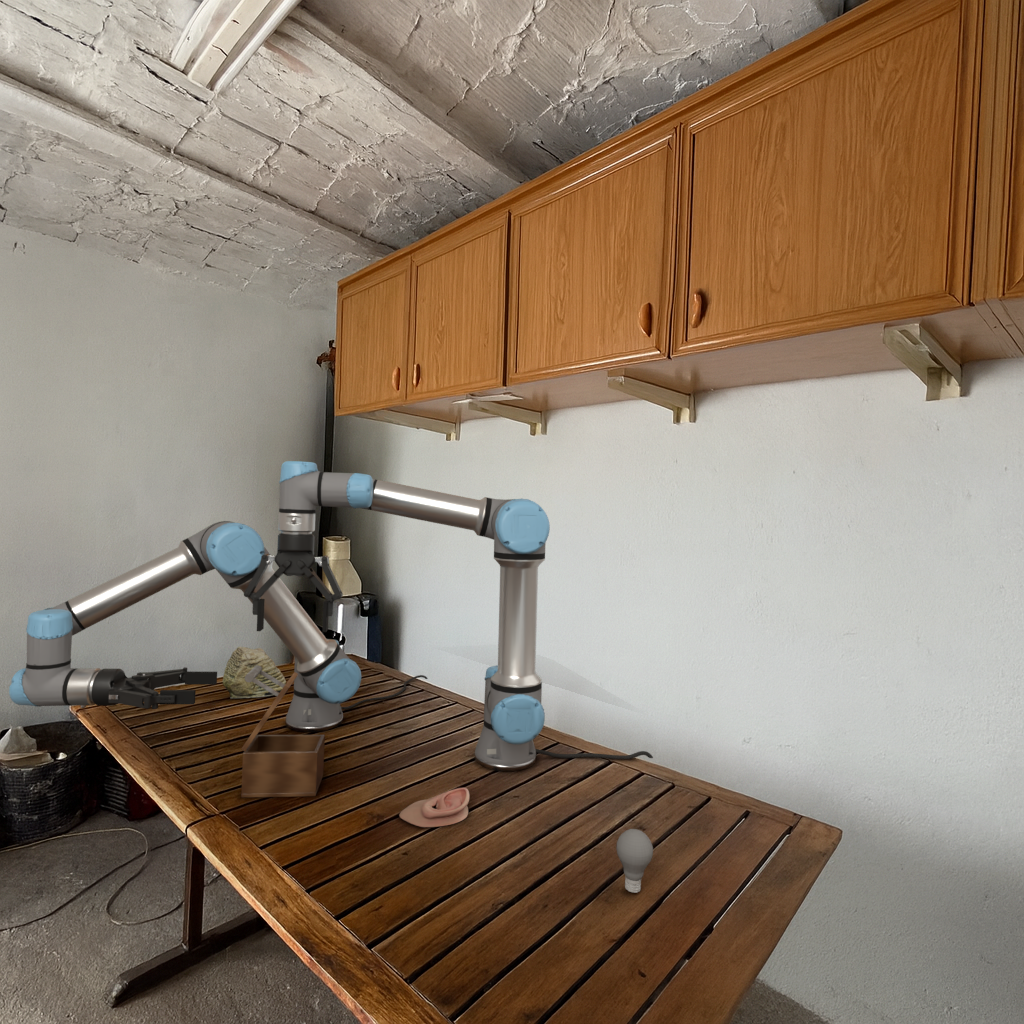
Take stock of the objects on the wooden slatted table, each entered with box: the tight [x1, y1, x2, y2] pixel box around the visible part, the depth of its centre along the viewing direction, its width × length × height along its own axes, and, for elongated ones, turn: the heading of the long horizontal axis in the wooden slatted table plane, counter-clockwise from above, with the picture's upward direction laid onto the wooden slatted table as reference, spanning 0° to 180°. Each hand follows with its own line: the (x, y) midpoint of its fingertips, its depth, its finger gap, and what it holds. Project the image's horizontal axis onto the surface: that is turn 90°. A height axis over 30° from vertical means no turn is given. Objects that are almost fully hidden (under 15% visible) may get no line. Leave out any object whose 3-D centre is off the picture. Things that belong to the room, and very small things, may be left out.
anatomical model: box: [398, 787, 471, 828], centre depth 128 cm, size 13×4×12 cm
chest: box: [240, 734, 326, 798], centre depth 138 cm, size 15×10×9 cm
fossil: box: [222, 646, 287, 699], centre depth 198 cm, size 9×18×15 cm, turn 132°
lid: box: [240, 665, 298, 752], centre depth 137 cm, size 16×10×9 cm
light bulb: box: [615, 828, 654, 894], centre depth 106 cm, size 6×6×10 cm
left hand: (206, 687), depth 135 cm, fingers open, 13 cm apart
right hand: (292, 630), depth 137 cm, fingers open, 13 cm apart
